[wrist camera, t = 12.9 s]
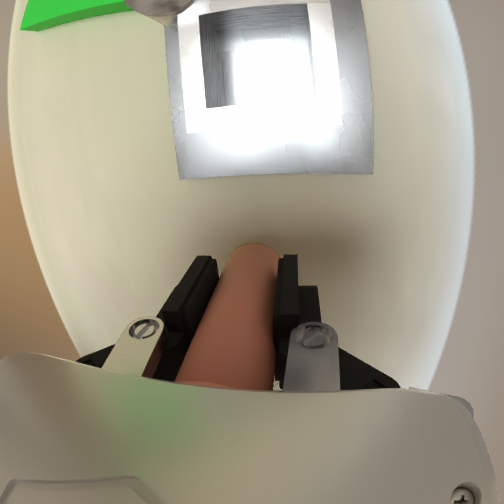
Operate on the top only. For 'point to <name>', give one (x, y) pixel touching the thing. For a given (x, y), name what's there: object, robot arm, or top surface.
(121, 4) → the mechanical part
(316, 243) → the top surface
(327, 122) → the metal square socket base
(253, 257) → the peach peg
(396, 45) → the top surface
